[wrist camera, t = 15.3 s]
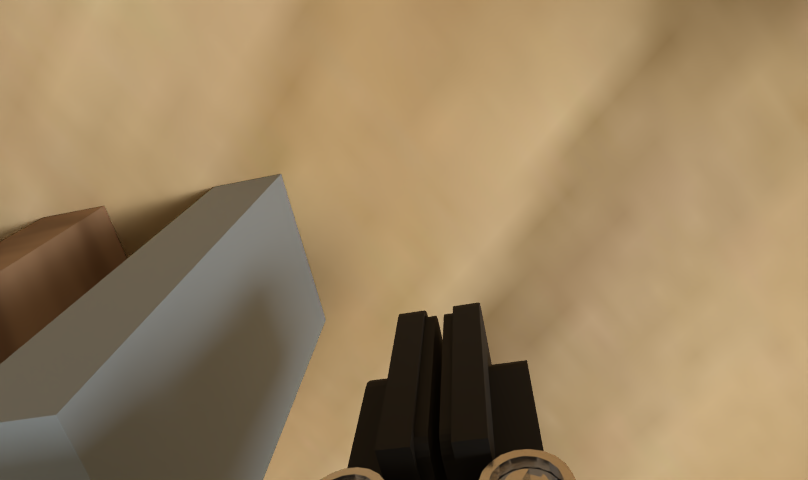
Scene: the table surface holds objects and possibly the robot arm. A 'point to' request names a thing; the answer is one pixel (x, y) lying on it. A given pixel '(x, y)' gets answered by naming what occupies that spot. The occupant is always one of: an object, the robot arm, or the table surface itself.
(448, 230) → the table surface
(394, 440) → the robot arm
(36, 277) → the domino
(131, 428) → the tile
